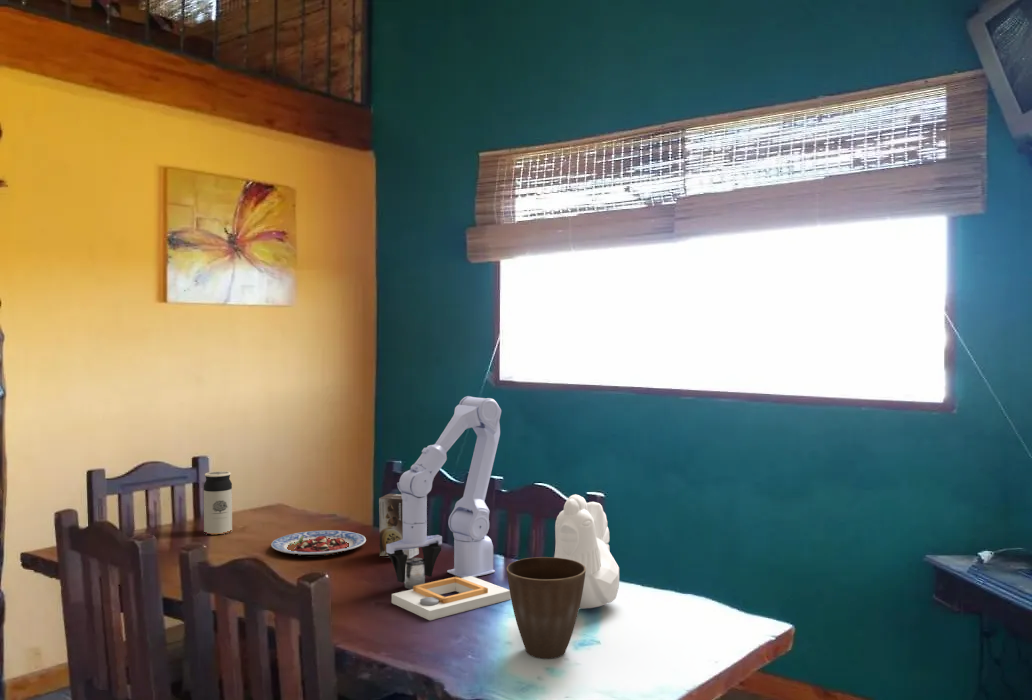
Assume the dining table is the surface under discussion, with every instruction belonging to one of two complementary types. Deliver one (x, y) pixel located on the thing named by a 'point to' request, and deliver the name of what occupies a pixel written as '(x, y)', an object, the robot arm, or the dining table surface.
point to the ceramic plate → (319, 542)
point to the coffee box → (392, 523)
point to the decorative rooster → (588, 549)
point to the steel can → (414, 572)
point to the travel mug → (217, 502)
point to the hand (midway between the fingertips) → (414, 578)
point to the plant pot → (546, 602)
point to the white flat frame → (449, 597)
